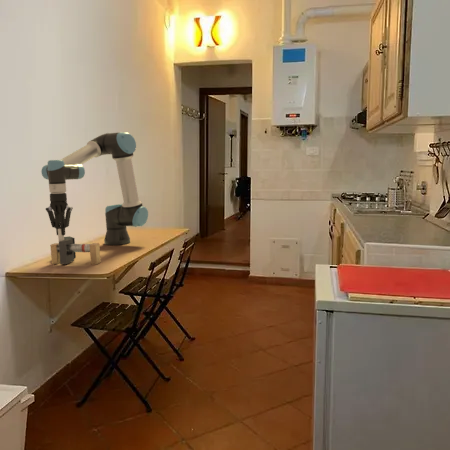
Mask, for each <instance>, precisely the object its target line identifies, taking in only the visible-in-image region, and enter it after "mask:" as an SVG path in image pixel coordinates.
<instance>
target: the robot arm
mask: <svg viewBox="0 0 450 450" xmlns="http://www.w3.org/2000/svg"><path fill="white" fill-rule="evenodd" d="M136 148H137V142H136V139H135V138H134V136H133V135H132V134H131V133H129V132H127V131H126V132H124V131H120V132H118V131H117V132H111V133H109V132H107V133H104V134H100V135H98V136H96V137H95V138H93V139H90V140H89V141H88V142H86V145H84V146H83V147H80V148H79V149H77V150H76V151H73V152H72V153H70V154H68V155H66V156H64V157H63V158H61V159H50V160H48V161H47V164H45V165H43V167H42V168H41V171H40V172H41V175H42V177H43V179H45V180H48V189H49V193H50V194H49V201H50V204H49V206H48V207H46V208H45V211H46V212H47V215H48V217H49V221H50V224H51V227H52V228H54V229H55V231H56V233H55V234H56V236H57V237H58V238H57V239H58V242H59V241H62V240H64V237H65V236H66V228H69V226H70V221H71V214H72V211H73V206H69V204H68V200H67V193H66V192H67V185H66V183H67V182H66V181H67V180H81V179H82V178H84V177H85V176H86V175H85V173H86V170H85V167H84V166H83V165H84V164H85V163H87V162H89V161H90V160H92V159H93V158H99V157H101V156H105V155H111V157H112V159H113V160H114V161H115V163H116V167H117V173H118V179H119V185H120V189H121V194H122V195H121V196H122V199H123V203H120V204H113V205H107V206H106V207H105V212H104V214H105V227H106V228H105V229H106V231H105V236H104V240H103V241H104V245H106V246H118V245H119V246H120V245H127V244H130V243H131V237H130V235H129V233H128V230H127V227H135V228H137V227H138V228H139V227H143V226H144V225H145V224H147V222H148V219H149V209H148V208H147V207H146V206H144V205H143V202H142V201H141V200H140V197H139V193H138V188H137V183H136V182H137V181H136V177H135V172H134V166H133V160H132V158H133V157H134V153H135V152H136Z"/></svg>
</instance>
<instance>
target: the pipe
mask: <svg viewBox="0 0 450 450" xmlns="http://www.w3.org/2000/svg"><path fill="white" fill-rule="evenodd" d="M66 250H67V252H75V253H89V254H90V265H98V264H101V262H102V261H101V249H100V243H99V242H94V243H75V244H67V245H66ZM50 255H51V256H50V257H51V265H59V264H60V252H59V242H55V243H51V244H50Z"/></svg>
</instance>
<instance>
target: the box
mask: <svg viewBox="0 0 450 450" xmlns="http://www.w3.org/2000/svg"><path fill="white" fill-rule="evenodd" d="M65 239H73V244H76V243H75V242H76V241H75V237H74V236H73V237H72V236H64V240H65ZM76 254H77V252H74V259H76V258H77V257H76Z"/></svg>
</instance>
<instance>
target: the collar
mask: <svg viewBox="0 0 450 450" xmlns="http://www.w3.org/2000/svg"><path fill="white" fill-rule="evenodd" d="M58 243H59V252H60V263H59V264H60V265H67V264H71V263H72V262H75V258H74V252H67V250H66V245H67V244H73V239H65V240H62V241H59V240H58Z"/></svg>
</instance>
